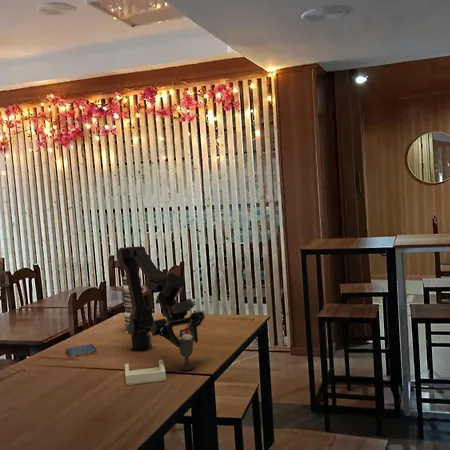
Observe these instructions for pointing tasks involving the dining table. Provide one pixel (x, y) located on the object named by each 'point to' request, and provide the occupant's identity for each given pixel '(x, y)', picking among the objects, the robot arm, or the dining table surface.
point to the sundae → (186, 347)
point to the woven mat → (81, 351)
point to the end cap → (145, 374)
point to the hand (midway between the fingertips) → (188, 344)
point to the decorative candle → (127, 300)
